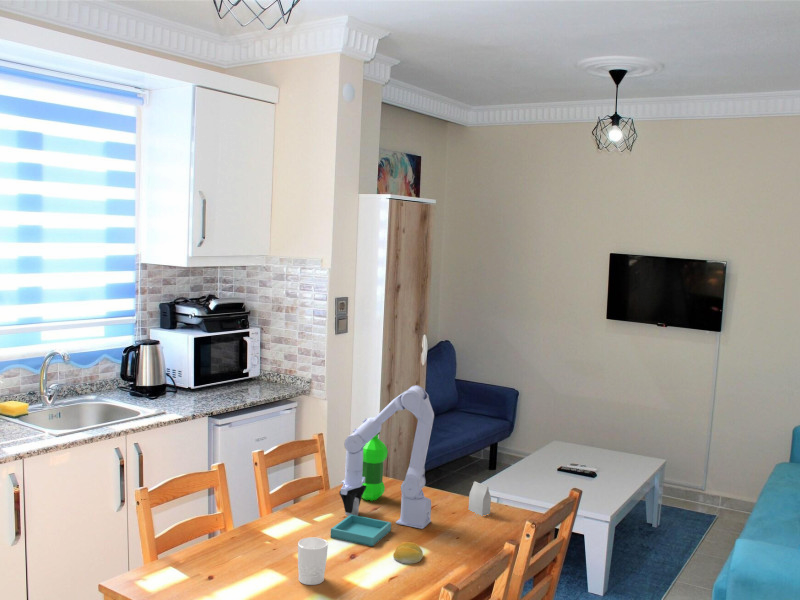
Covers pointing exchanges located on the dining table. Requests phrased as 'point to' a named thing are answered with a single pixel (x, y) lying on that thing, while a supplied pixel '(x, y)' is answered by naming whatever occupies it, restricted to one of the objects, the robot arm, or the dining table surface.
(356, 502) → the white cylinder
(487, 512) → the white gable top carton
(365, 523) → the tray
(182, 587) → the dining table surface
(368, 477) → the plastic bottle
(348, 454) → the robot arm
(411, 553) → the bread roll
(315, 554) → the white cup
